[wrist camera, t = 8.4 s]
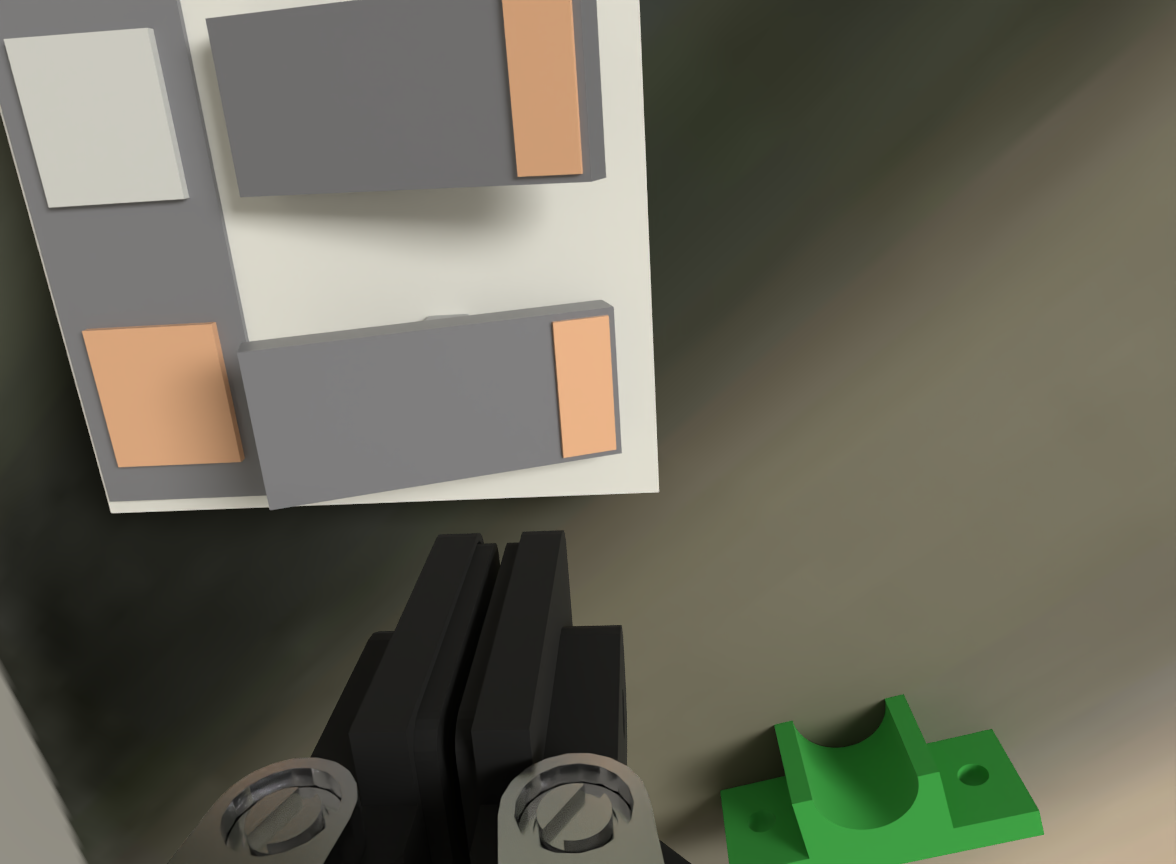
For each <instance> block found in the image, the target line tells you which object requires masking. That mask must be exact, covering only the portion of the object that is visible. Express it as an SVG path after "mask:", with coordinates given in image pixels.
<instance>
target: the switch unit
mask: <svg viewBox="0 0 1176 864" xmlns="http://www.w3.org/2000/svg"><path fill="white" fill-rule="evenodd" d="M344 1H352V0H0V113H1V116H2V120H3V124H4V127H5V131H6V135H7V138H8V142H9V145H10V149H11V153H12V156H13V160H14V164H15V167H16V171H17V174H18V178H19V182H20V185H21V189H22V192H23V196H24V200H25V203H26V207H27V211H28V214H29V218H30V221H31V225H32V229H33V232H34V236H35V239H36V243H37V247H38V250H39V254H40V258H41V261H42V265H43V268H44V272H45V276H46V279H47V283H48V286H49V290H50V294H51V297H52V301H53V305H54V308H55V312H56V315H57V319H58V323H59V326H60V330H61V333H62V337H63V341H64V344H65V348H66V352H67V355H68V359H69V362H70V366H71V370H72V373H73V377H74V380H75V384H76V388H77V391H78V395H79V399H80V402H81V406H82V409H83V413H84V417H85V420H86V424H87V428H88V431H89V435H90V438H91V442H92V446H93V449H94V453H95V456H96V460H97V464H98V467H99V471H100V475H101V478H102V482H103V485H104V489H105V493H106V496H107V500H108V503H109V507H110V511H111V513H130V512H156V511H182V510H208V509H234V508H260V507H269V504H268V500H267V495H266V490H265V485H264V480H263V476H262V471H261V466H260V461H259V456H258V451H257V447H256V442H255V437H254V432H253V427H252V423H251V418H250V413H249V408H248V403H247V399H246V394H245V389H244V384H243V379H242V375H241V370H240V365H239V360H238V355H237V352H238V349H239V347H240V345H241V343H242V342H249V341H258V340H266V339H275V338H283V337H291V336H300V335H308V334H317V333H325V332H333V331H342V330H350V329H358V328H367V327H375V326H384V325H392V324H400V323H409V322H417V321H426V320H434V319H442V318H451V317H459V316H468V315H476V314H484V313H493V312H501V311H510V310H518V309H526V308H535V307H543V306H551V305H560V304H568V303H577V302H585V301H593V300H603V301H605V302H607V303H608V304H610V305H611V306H613V307H614V320H615V338H616V356H617V374H618V393H619V411H620V429H621V447H622V453H620V454H614V455H608V456H602V457H595V458H589V459H583V460H577V461H571V462H565V463H558V464H552V465H546V466H540V467H534V468H528V469H521V470H515V471H509V472H503V473H497V474H490V475H484V476H478V477H472V478H466V479H460V480H453V481H447V482H441V483H435V484H429V485H423V486H416V487H410V488H404V489H398V490H392V491H386V492H379V493H373V494H367V495H361V496H355V497H349V498H342V499H336V500H330V501H324V502H318V503H312V504H305V505H299V506H312V505H338V504H364V503H390V502H416V501H442V500H468V499H494V498H520V497H546V496H572V495H598V494H624V493H650V492H659V479H658V454H657V429H656V404H655V379H654V354H653V329H652V305H651V280H650V255H649V230H648V205H647V180H646V155H645V130H644V106H643V81H642V56H641V31H640V6H639V0H596V1H597V19H598V37H599V55H600V73H601V91H602V109H603V127H604V145H605V164H606V178H603V179H600V180H596V181H593V182H577V183H554V184H532V185H509V186H486V187H464V188H441V189H418V190H396V191H373V192H350V193H328V194H305V195H282V196H260V197H240V194H239V189H238V184H237V179H236V174H235V169H234V163H233V158H232V153H231V148H230V143H229V138H228V133H227V128H226V122H225V117H224V112H223V107H222V102H221V97H220V92H219V86H218V81H217V76H216V71H215V66H214V61H213V56H212V50H211V45H210V40H209V35H208V30H207V25H206V20H205V19H206V18H214V17H222V16H230V15H238V14H246V13H254V12H262V11H271V10H279V9H287V8H295V7H303V6H311V5H319V4H327V3H336V2H344Z"/></svg>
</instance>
